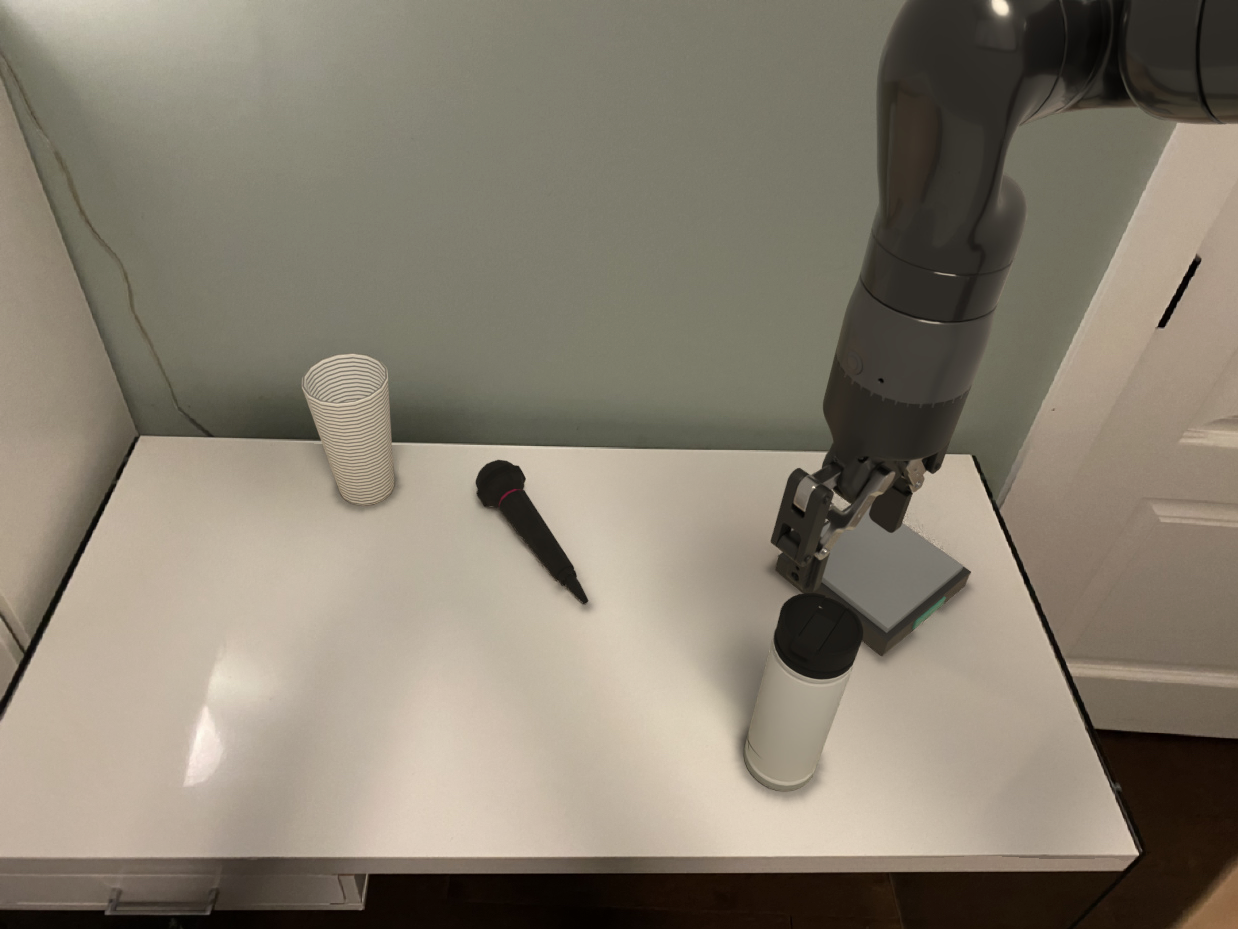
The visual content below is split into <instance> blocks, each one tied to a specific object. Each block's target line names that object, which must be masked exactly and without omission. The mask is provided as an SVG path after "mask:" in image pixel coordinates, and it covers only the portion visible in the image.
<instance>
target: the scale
mask: <svg viewBox="0 0 1238 929" xmlns="http://www.w3.org/2000/svg"><path fill="white" fill-rule="evenodd" d="M871 505H872V504H871ZM851 507H852V504H850V505H848V506H847V507H846V508H845V507H844V509H842V510H841V511H842V512H844V513H847V512H848V511H849V510H850V508H851ZM870 508H871V506H870V507H869V509H868V510H867V512H866V513H865V515H864V516H863V517H862V519H861V520H860V522H859V523H858V525H857V526H856V528H855V529H853V530H851V531H848V530H845V531H844V532H843V533H842V534H841V536H840V537H839V539H838V540H837V541H836V543H835V544H834V546H833V547H832V549H831V550H830V554H829V558H828V561H827V564H826V568H825V571H824V574H823V578H822V581H821V584H820V587H819V588H818V589H817V590H815V591H814V592H813V593H817V594H821V595H825V596H826V597H825V598H831V599H833V600H836V601H838V602H840V603H841V604H843V605H844V606H845V607H846V608H848V607H849V608H850V609H851V610H852V611H853V612H854V613H855V614H856V615H857V616H858V618H859V619H860V621H861V623H862V626H863V632H864V633H863V639H862V642H863V643H865V644H866V645H867V646H868V647H869V648H871V649H872V650H873V651H874V652H875V653H877V654H878V655H879V656H881V657H883V656H884V655H886V654H887V653H888V652H890V650H892V649H893V648H894V647H895V646H896V645H897V644H899V643H900V642H901V641H903V640H904V639H905V638H906V637H907V636H908V635H909V634H910V633H912V632H913V631H914V630H915V629H917V628H918V627H919V626H920V625H921V624H922V623H924V621H926V620H927V619H928V618H929V617H931V616H932V615H933V614H934V613H935V612H936V611H938V609H940V608H941V607H942V606H943V605H944V604H946V603H947V602H948V601H949V600H951V599H952V598H953V597H954V596H955V595H956V594H958V593H959V592H960V591H961V590H962V589H963V588H965V586H966V584H967V582H968V579H969V577H970V575H971V573H972V571H971V570H970V569H968V568H967V567H966V566H964V564H962V563H961V562H959V561H958V560H957V559H955V558H953V557H952V556H951V555H950V554H948V553H947V552H945V551H944V550H942V549H941V548H939V547H938V546H936V545H935V544H933V543H932V542H931V541H929V540H928V539H926V538H925V537H923V536H922V535H921V534H920V533H918V532H916V531H915V530H913V529H912V528H911V527H909V525H907V524H905V523H904V522H902V525H901V527H900V528H899V529H897V530H896V531H895V532H893V533H889V532H887V531H886V530H885V529H883V528H882V527H880V526H879V525H878V524H876V523H875V522H873V521H872V520H871V519H870V517H869V511H870ZM829 526H830V522H829V520H827V521H825V523H824V526H823V529H822V532H821V535H820V536H821V537H823V535H824V534H825V532H826V531H827V529H828V528H829ZM789 560H790V557H788V556H787V555H786V554H784V553H783V552H782V551H781V553H779V554H778V555H777V560H776V563H775V567H774V568H775V569H774V571H775V572H777V573H778V574H779V575H780V576H781V577H783V578H784V579H785V580H786V581H788V582H789V583H790V584H791V585H793V586H794V587H795V588H796V589H798V590H799V591H800V592H801V593H802V594H803V593H807V592H806V591H804V590H802V589H801V588H800V587H799V586H797V585H796V584H795V583H794V582H792V581H791V580H790V579H789V578H787V576H786V572H787V568H788V564H789Z"/></svg>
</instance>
